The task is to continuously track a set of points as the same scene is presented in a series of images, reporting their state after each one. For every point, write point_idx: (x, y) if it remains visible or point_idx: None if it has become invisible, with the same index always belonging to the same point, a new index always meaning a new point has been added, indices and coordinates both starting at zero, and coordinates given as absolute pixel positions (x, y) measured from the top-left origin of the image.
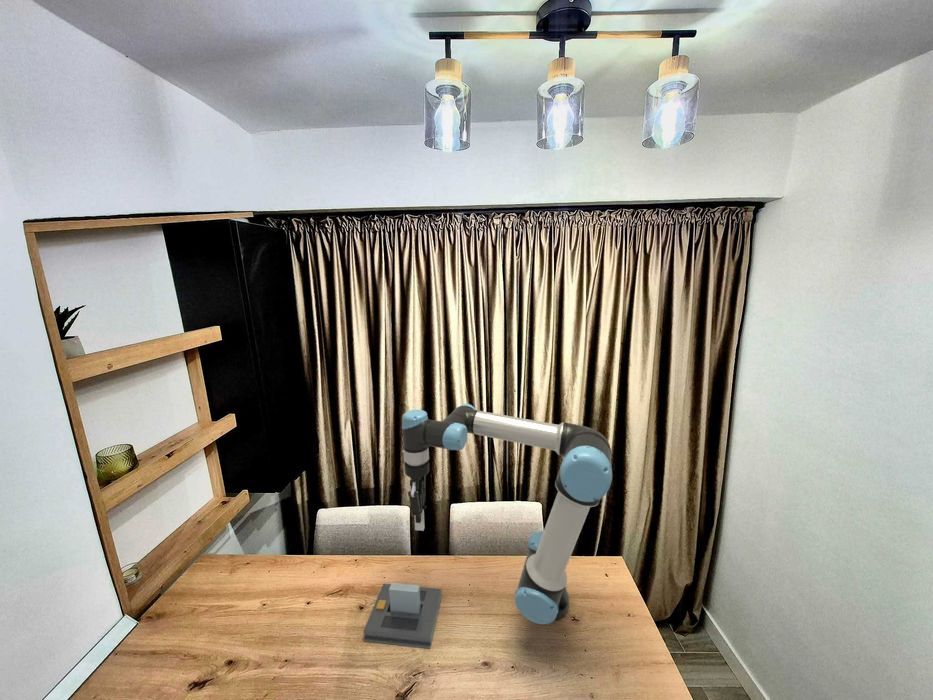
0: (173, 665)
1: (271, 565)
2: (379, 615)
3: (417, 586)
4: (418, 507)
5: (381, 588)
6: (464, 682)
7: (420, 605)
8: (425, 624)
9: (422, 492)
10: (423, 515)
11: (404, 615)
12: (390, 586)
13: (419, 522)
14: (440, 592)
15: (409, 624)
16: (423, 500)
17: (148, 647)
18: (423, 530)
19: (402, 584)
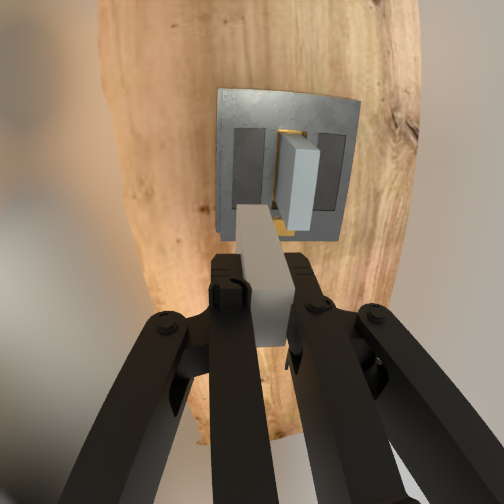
0: None
1: (194, 400)
2: None
3: (300, 154)
4: (449, 380)
5: (235, 240)
6: (407, 39)
7: (283, 134)
8: (331, 115)
9: (275, 485)
10: (261, 258)
11: None
12: (299, 229)
13: (303, 260)
14: (236, 89)
15: (330, 151)
16: (226, 361)
17: None
18: (265, 205)
19: (292, 199)
